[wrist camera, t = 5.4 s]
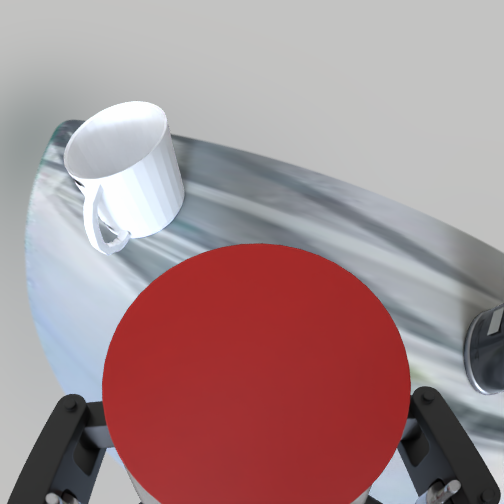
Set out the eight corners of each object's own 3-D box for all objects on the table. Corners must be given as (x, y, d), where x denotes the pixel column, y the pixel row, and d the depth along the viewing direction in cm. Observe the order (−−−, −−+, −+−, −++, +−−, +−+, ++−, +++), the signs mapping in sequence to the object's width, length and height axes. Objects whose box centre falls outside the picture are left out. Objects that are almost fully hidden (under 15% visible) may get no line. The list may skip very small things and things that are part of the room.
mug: (131, 161, 30) (106, 98, 22) (200, 178, 29) (187, 107, 21) (74, 249, 26) (24, 197, 17) (144, 281, 24) (100, 229, 16)
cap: (360, 341, 7) (438, 304, 4) (297, 488, 5) (337, 556, 2) (210, 280, 7) (187, 203, 4) (139, 423, 6) (63, 445, 3)
